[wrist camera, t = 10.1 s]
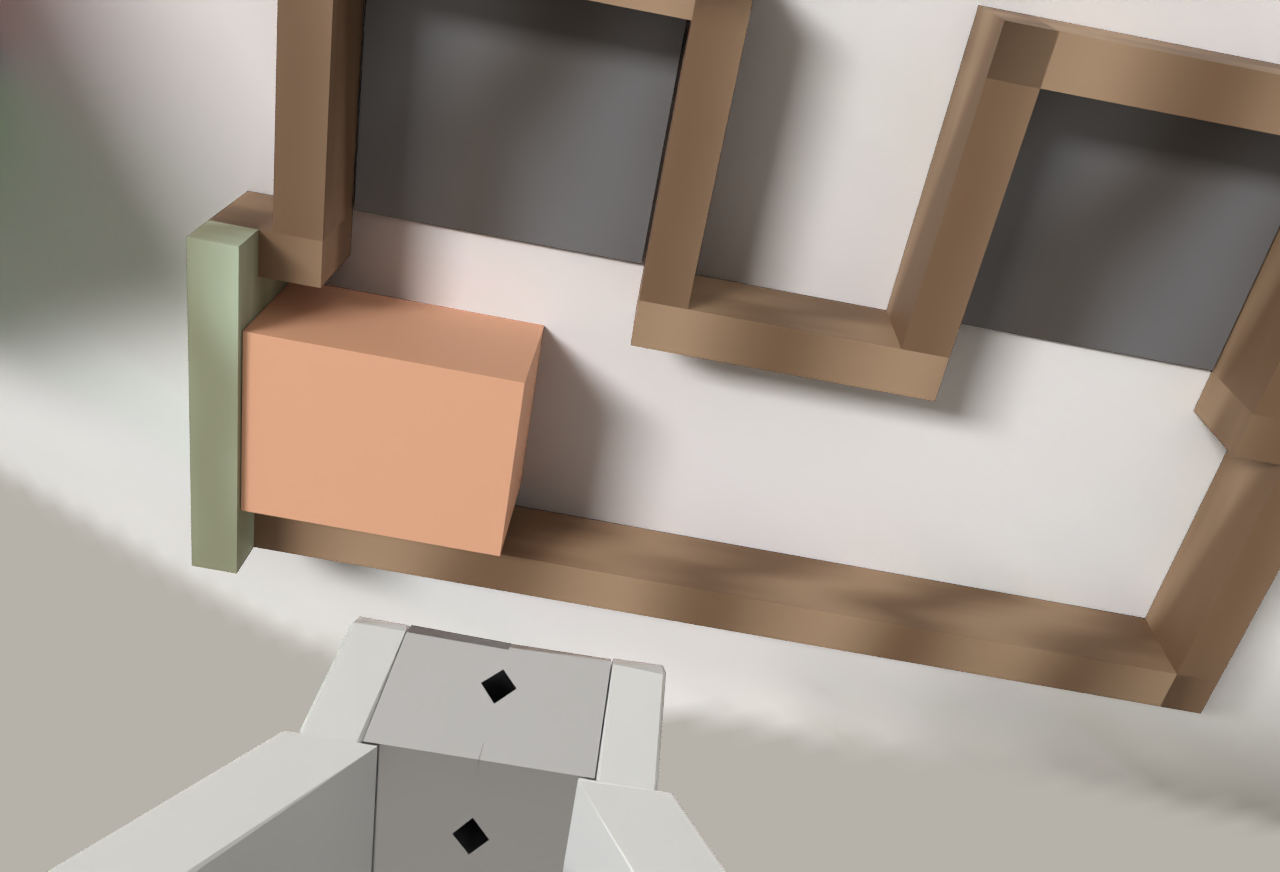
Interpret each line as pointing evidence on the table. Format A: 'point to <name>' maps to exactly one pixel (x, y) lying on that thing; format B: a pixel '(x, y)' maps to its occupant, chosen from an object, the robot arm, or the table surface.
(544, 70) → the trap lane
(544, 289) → the table surface
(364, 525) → the terracotta block
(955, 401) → the table surface
